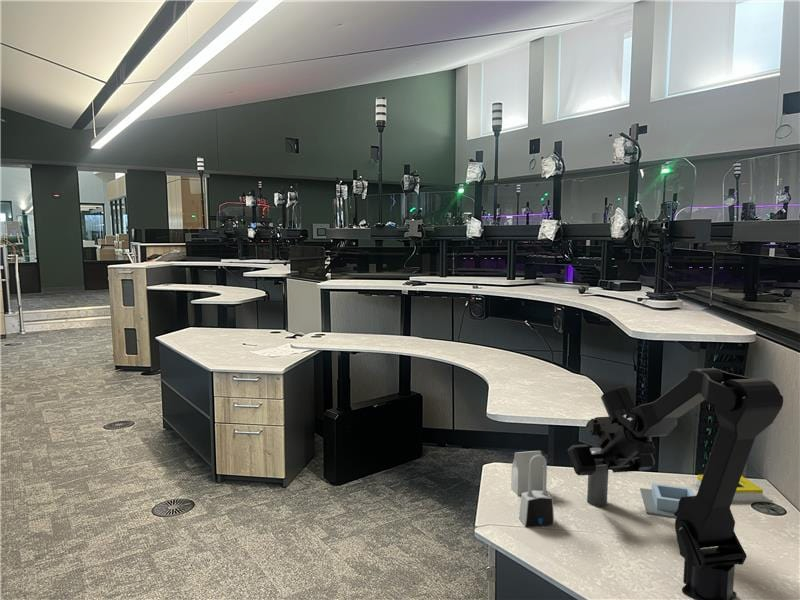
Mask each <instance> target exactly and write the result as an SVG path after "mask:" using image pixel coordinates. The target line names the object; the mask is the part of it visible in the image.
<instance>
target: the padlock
mask: <svg viewBox="0 0 800 600" xmlns="http://www.w3.org/2000/svg"><path fill="white" fill-rule="evenodd" d="M537 458H541V459H542V461H543V467H544V471H543V490H542V491H537V490H533V491H531V490H532V466H533V461H534V460H535V459H537ZM547 463H548V462H547V459H546V457H545V456H544V455H543V454H541V455H535V456H533V457H532V458H531V460H530V464H529V482H528V492H524V493H522V494H521V496H520V503H519V504H520V507H519V514H518V515H519V516H518V520H519V522H520V523H521V524H522V525H523V526H524V528H541V527H547V526H553V525H555V516H554V515H555V514H554V512H555V511H554V498H553V497H552V496H551V495H550V494H549V492H548V491H547V481H548V480H547V479H548V478H547V475H548V473H547V472H548V470H547V469H548V465H547Z"/></svg>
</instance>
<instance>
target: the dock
mask: <svg viewBox="0 0 800 600" xmlns="http://www.w3.org/2000/svg"><path fill="white" fill-rule="evenodd" d="M639 490H640V494H641V498H642V502H643V506H644V509H645V513H646V514H647V515H652V516H653V515H654V516H659V517H666V518H673V519H676V517H677V516H675V515H674V513H676V511H677V509H678V505H679V500H680V499H681V497H687V496H696V494H695V493H694V491H693V489H692V488H691V487H685V486H677V485H669V484H662V483H654V482H652V483H651V489H649V488H643V487H641V488H639Z"/></svg>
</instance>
